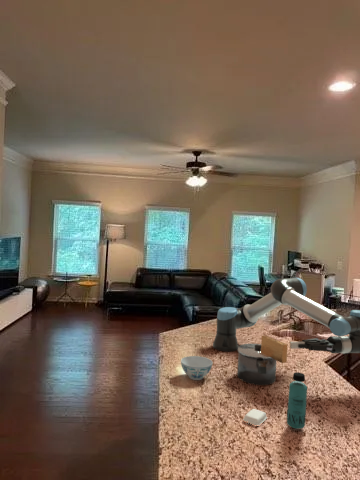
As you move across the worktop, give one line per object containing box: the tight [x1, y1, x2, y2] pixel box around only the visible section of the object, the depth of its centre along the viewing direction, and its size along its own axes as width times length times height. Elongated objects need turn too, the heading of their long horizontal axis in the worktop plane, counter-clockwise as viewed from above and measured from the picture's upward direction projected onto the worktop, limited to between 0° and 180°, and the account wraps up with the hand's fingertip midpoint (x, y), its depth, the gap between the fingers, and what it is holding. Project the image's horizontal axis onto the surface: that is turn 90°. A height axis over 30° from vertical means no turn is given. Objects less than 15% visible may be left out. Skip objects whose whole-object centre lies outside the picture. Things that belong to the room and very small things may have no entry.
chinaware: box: [180, 355, 213, 381], centre depth 181 cm, size 15×15×8 cm
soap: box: [242, 408, 268, 425], centre depth 142 cm, size 9×7×3 cm
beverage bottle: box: [286, 372, 308, 430], centre depth 137 cm, size 6×7×20 cm
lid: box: [237, 334, 288, 364], centre depth 179 cm, size 28×19×9 cm, turn 25°
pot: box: [237, 352, 278, 386], centre depth 181 cm, size 32×18×12 cm, turn 175°
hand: (290, 345), depth 172 cm, fingers closed
